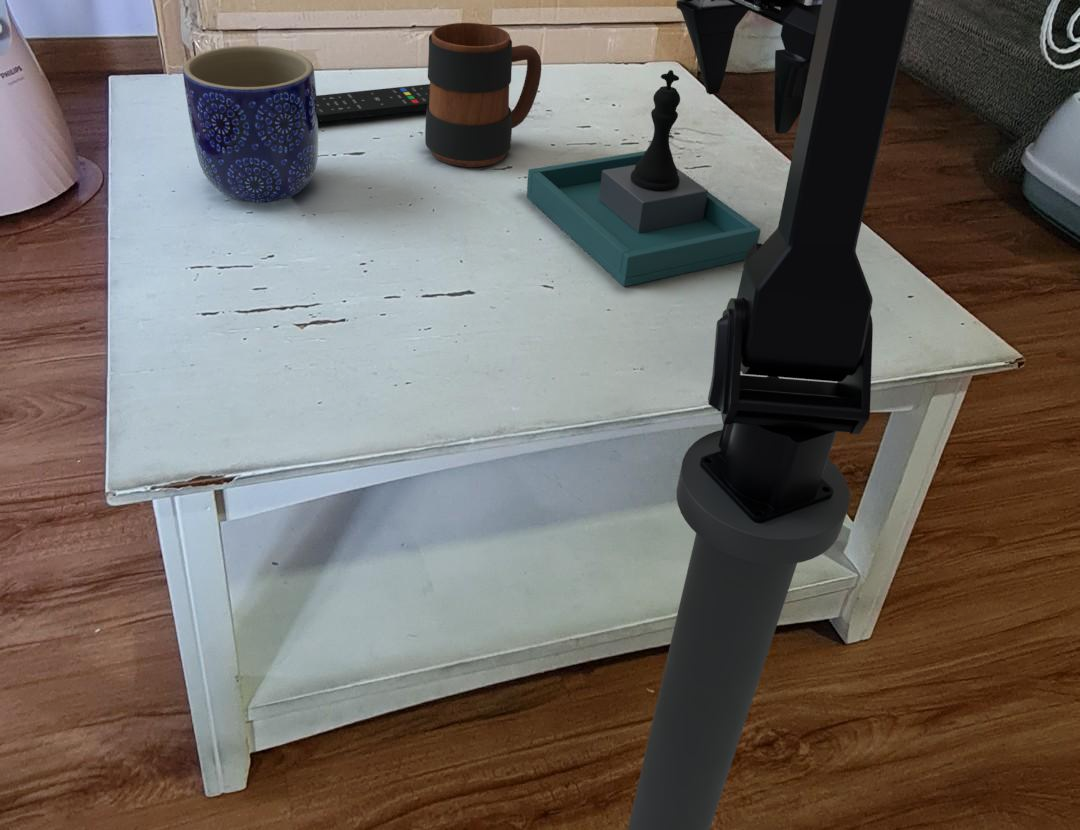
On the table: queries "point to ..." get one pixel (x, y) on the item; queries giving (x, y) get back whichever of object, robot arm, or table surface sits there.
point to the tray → (616, 244)
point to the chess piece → (660, 142)
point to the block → (652, 201)
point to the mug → (475, 93)
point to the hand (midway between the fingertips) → (745, 112)
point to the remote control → (372, 102)
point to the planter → (253, 120)
